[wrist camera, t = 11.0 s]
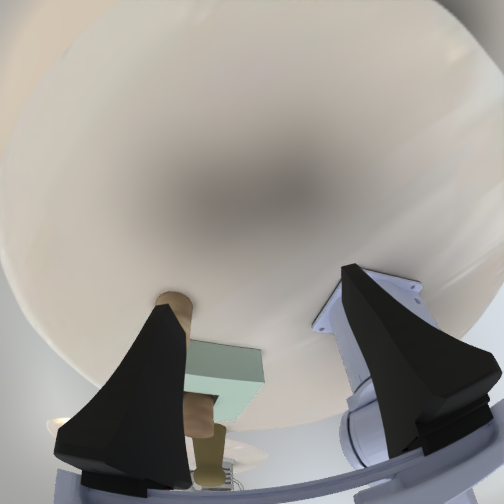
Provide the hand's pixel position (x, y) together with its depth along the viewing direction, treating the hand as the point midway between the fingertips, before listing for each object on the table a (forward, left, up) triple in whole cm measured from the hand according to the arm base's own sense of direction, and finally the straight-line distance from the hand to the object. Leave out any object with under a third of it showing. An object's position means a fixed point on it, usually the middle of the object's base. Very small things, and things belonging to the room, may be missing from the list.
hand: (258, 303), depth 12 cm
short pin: (+3, +11, -9) cm, 15 cm away
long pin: (-1, +21, -9) cm, 23 cm away
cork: (-6, +41, -10) cm, 43 cm away
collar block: (-1, +21, -9) cm, 23 cm away
